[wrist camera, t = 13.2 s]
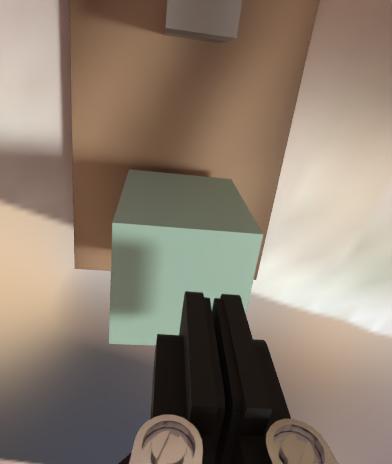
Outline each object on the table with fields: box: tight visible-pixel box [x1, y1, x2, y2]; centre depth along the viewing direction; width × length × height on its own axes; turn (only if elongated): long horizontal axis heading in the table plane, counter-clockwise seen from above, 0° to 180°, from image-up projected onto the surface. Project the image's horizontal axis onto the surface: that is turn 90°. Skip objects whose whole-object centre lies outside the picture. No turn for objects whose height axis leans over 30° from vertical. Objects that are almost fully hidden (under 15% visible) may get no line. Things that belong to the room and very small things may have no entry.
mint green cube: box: [109, 169, 263, 345], centre depth 16 cm, size 5×5×7 cm
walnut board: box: [69, 0, 319, 280], centre depth 17 cm, size 11×18×5 cm, turn 173°
